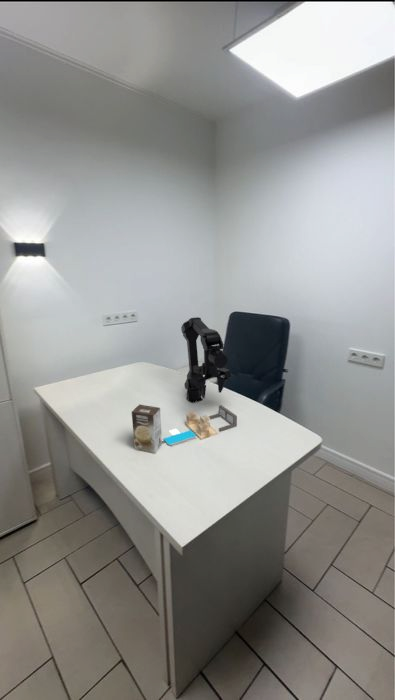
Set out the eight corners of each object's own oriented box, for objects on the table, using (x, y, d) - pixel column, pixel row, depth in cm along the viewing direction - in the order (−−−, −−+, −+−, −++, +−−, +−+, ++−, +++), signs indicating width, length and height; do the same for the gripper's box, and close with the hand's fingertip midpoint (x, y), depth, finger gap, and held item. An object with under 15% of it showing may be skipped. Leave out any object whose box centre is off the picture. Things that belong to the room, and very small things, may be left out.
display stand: (200, 419, 138) (200, 409, 137) (217, 434, 126) (217, 423, 125) (184, 424, 134) (184, 414, 133) (200, 439, 123) (200, 428, 121)
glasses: (221, 414, 142) (221, 404, 140) (236, 426, 132) (236, 415, 130) (205, 419, 138) (205, 409, 137) (220, 431, 128) (220, 420, 126)
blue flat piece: (193, 424, 135) (193, 421, 135) (207, 437, 125) (207, 434, 125) (150, 437, 126) (149, 434, 126) (161, 452, 116) (160, 448, 116)
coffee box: (133, 449, 117) (130, 411, 113) (142, 440, 123) (138, 404, 119) (155, 454, 114) (152, 414, 110) (163, 444, 120) (160, 407, 116)
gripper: (215, 353, 142) (216, 384, 146) (181, 361, 131) (183, 395, 135) (232, 358, 133) (232, 391, 137) (197, 367, 122) (198, 403, 127)
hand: (211, 395), depth 134 cm, fingers open, 9 cm apart
